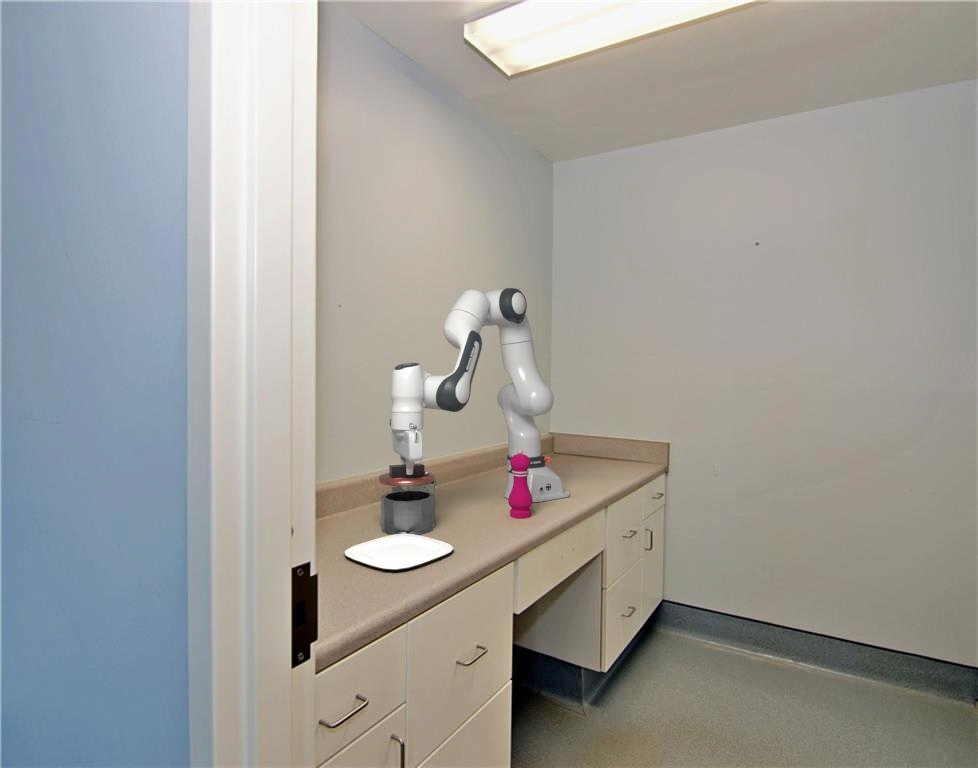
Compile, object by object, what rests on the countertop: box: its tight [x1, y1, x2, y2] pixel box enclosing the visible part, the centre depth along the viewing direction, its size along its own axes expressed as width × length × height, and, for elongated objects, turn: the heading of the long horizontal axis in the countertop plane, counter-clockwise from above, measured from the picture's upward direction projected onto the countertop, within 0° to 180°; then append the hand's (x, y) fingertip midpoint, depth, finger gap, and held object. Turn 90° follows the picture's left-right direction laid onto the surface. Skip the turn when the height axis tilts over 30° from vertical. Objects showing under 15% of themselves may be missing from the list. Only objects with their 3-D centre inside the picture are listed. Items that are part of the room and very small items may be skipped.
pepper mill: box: [507, 449, 534, 519], centre depth 165 cm, size 7×7×20 cm
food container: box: [400, 475, 438, 495], centre depth 176 cm, size 12×6×10 cm, turn 84°
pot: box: [380, 486, 436, 536], centre depth 156 cm, size 14×22×9 cm, turn 22°
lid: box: [378, 463, 435, 487], centre depth 152 cm, size 15×15×4 cm
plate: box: [344, 534, 455, 571], centre depth 131 cm, size 22×22×2 cm
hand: (407, 472), depth 152 cm, fingers closed on lid, 3 cm apart
